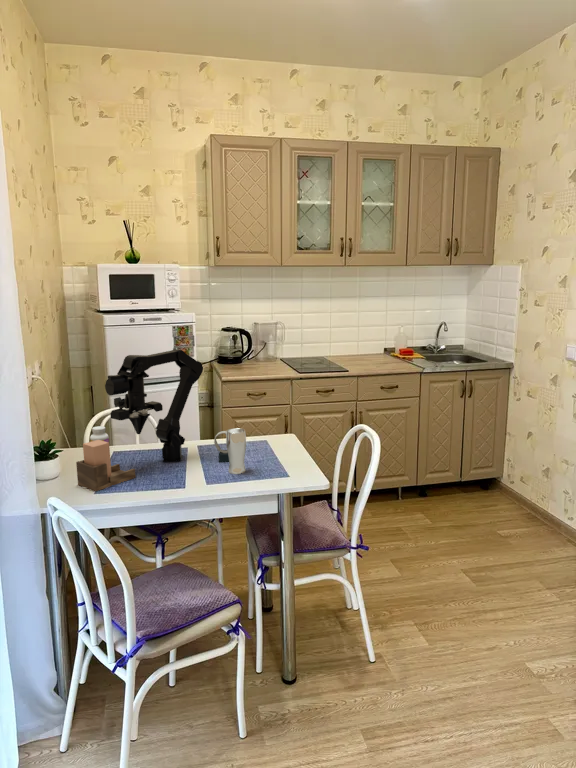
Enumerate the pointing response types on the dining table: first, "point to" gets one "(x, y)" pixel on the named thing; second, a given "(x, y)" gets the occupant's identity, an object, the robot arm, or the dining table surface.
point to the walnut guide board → (101, 475)
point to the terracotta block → (97, 454)
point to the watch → (223, 453)
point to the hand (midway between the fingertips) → (138, 433)
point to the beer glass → (236, 450)
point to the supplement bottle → (99, 434)
